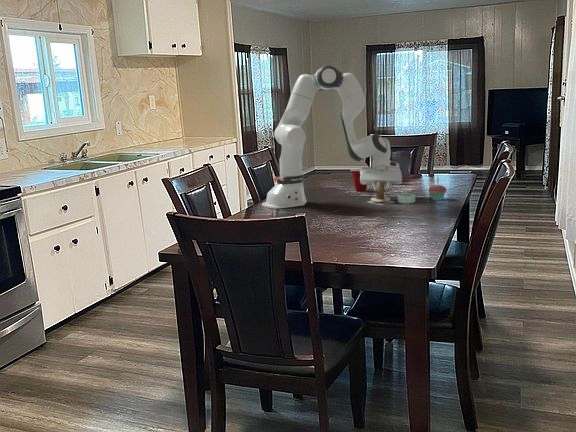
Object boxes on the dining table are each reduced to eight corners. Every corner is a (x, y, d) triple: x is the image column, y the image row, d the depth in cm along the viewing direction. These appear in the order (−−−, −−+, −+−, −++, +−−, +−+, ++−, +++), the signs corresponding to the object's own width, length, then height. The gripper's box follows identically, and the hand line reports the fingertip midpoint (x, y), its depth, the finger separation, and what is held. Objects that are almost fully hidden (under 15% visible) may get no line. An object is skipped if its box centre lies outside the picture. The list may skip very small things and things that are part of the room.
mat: (380, 205, 270) (380, 204, 270) (366, 202, 278) (366, 201, 278) (395, 202, 276) (395, 201, 275) (381, 199, 284) (381, 198, 284)
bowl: (406, 204, 270) (406, 197, 269) (394, 202, 276) (394, 195, 276) (418, 202, 274) (418, 195, 273) (406, 199, 281) (406, 192, 280)
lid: (379, 203, 271) (380, 184, 269) (367, 200, 278) (367, 182, 276) (393, 200, 275) (393, 182, 273) (380, 197, 283) (381, 180, 281)
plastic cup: (370, 188, 314) (370, 166, 312) (371, 192, 304) (371, 169, 301) (350, 188, 315) (350, 167, 313) (350, 192, 305) (350, 170, 302)
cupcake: (447, 201, 273) (447, 176, 271) (428, 201, 275) (429, 176, 272) (445, 197, 282) (446, 173, 279) (428, 197, 283) (428, 173, 281)
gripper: (359, 163, 281) (358, 186, 274) (402, 163, 277) (401, 186, 270) (360, 171, 287) (359, 194, 280) (401, 171, 283) (401, 194, 276)
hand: (380, 190), depth 275 cm, fingers closed on lid, 3 cm apart
